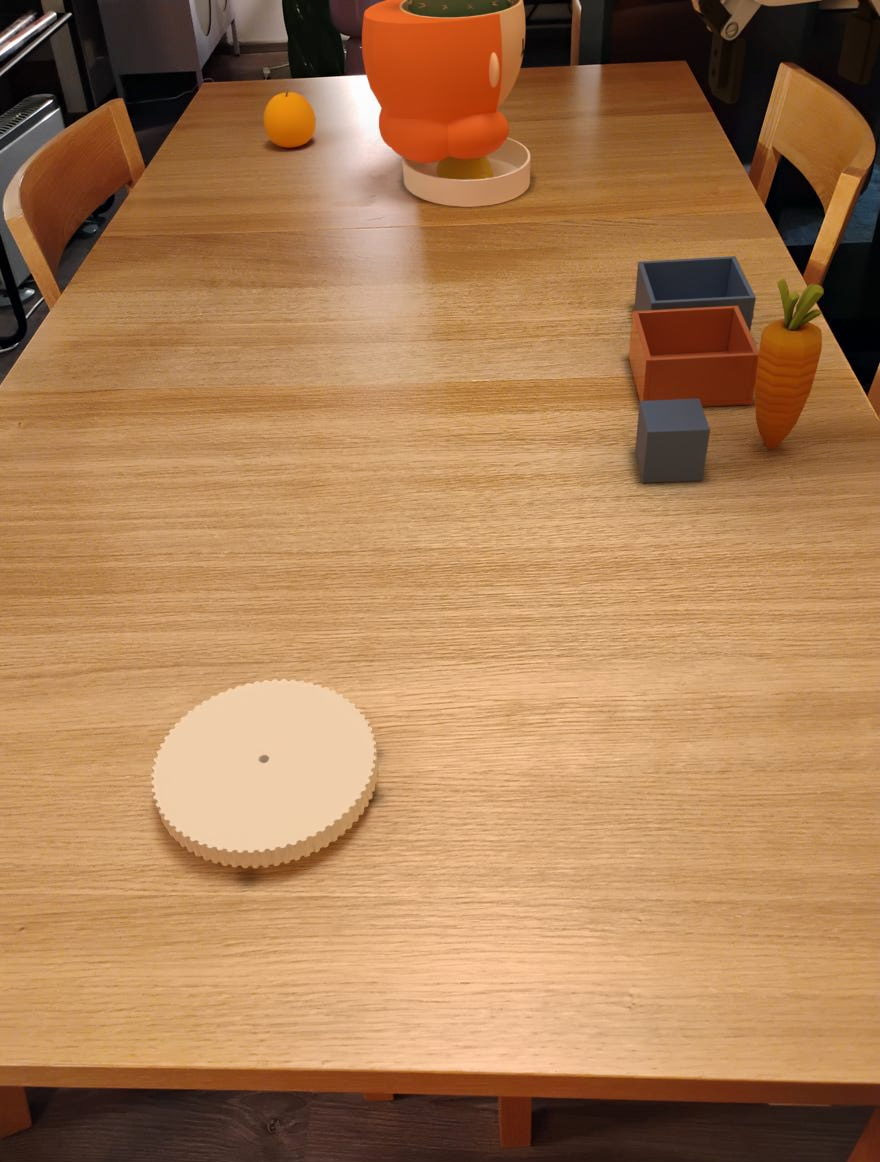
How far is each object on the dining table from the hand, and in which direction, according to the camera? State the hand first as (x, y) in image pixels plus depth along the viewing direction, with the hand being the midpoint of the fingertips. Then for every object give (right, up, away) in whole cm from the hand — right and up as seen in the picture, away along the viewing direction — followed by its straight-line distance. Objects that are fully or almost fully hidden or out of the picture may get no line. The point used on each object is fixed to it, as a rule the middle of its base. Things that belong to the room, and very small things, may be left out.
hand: (788, 88), depth 73 cm
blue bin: (+2, -7, +34) cm, 34 cm away
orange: (-45, +38, +88) cm, 106 cm away
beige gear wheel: (-36, -49, -8) cm, 61 cm away
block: (-5, -24, +15) cm, 29 cm away
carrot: (+4, -23, +16) cm, 28 cm away
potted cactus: (-21, +24, +70) cm, 77 cm away
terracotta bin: (0, -14, +25) cm, 29 cm away
